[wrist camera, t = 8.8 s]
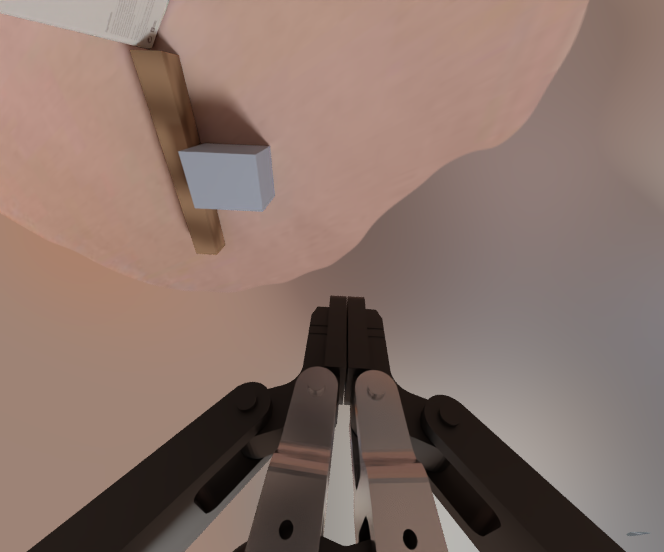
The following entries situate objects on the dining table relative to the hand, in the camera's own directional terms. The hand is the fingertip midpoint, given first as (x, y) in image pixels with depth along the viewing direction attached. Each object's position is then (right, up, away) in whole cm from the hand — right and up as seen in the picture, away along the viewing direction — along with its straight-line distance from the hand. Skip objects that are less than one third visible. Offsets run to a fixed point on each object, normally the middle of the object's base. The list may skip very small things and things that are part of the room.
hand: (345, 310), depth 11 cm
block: (-12, +15, +21) cm, 29 cm away
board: (-18, +15, +21) cm, 32 cm away
